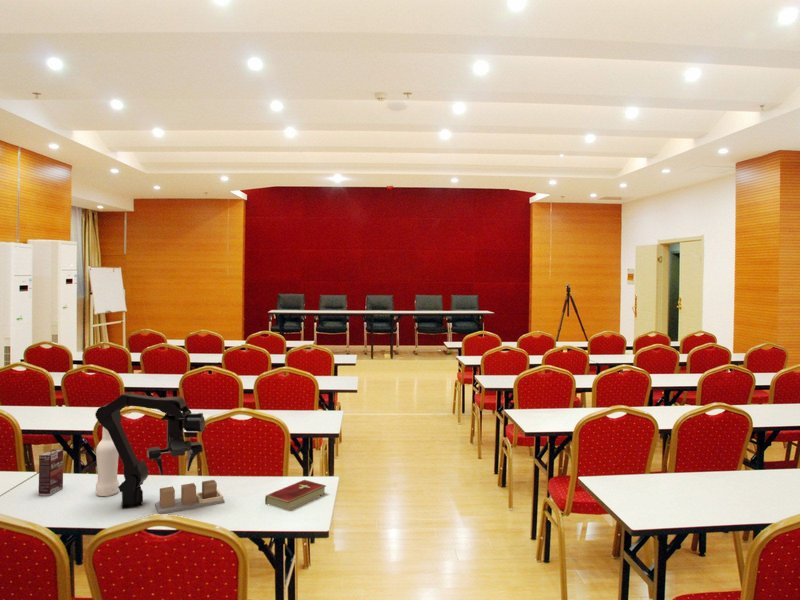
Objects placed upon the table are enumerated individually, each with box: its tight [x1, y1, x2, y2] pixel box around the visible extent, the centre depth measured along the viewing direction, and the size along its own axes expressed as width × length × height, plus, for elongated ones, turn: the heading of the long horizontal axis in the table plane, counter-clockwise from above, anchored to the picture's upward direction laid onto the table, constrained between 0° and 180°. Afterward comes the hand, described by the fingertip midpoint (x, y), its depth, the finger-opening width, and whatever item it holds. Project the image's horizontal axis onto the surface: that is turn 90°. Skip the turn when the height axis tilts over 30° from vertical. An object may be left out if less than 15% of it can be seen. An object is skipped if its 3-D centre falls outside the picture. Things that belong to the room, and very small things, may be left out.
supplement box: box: [38, 448, 64, 497], centre depth 220 cm, size 9×5×16 cm, turn 0°
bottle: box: [95, 426, 120, 497], centre depth 219 cm, size 8×8×30 cm
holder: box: [154, 482, 225, 515], centre depth 209 cm, size 23×10×7 cm, turn 121°
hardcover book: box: [264, 479, 327, 512], centre depth 216 cm, size 12×21×4 cm, turn 147°
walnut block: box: [201, 479, 218, 499], centre depth 213 cm, size 4×4×6 cm
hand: (175, 472), depth 208 cm, fingers open, 9 cm apart
